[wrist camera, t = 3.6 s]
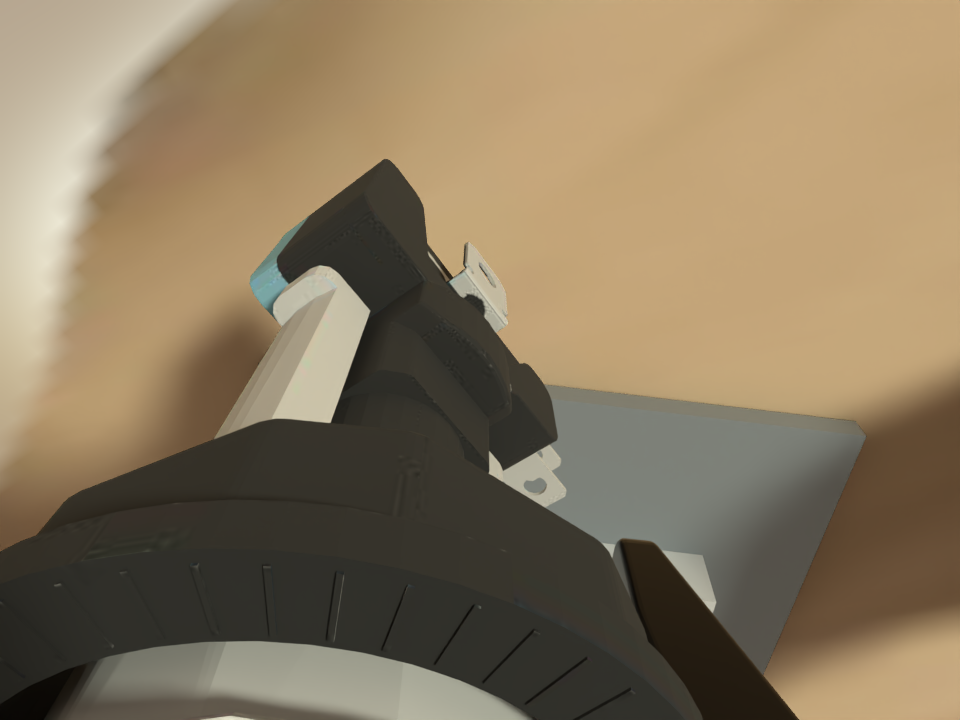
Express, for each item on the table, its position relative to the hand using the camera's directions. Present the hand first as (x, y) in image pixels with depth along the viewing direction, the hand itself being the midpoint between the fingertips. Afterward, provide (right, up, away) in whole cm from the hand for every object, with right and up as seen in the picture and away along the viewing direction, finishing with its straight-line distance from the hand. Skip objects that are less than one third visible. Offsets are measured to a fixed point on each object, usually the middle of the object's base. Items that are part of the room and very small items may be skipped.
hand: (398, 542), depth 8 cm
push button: (0, +3, +5) cm, 5 cm away
